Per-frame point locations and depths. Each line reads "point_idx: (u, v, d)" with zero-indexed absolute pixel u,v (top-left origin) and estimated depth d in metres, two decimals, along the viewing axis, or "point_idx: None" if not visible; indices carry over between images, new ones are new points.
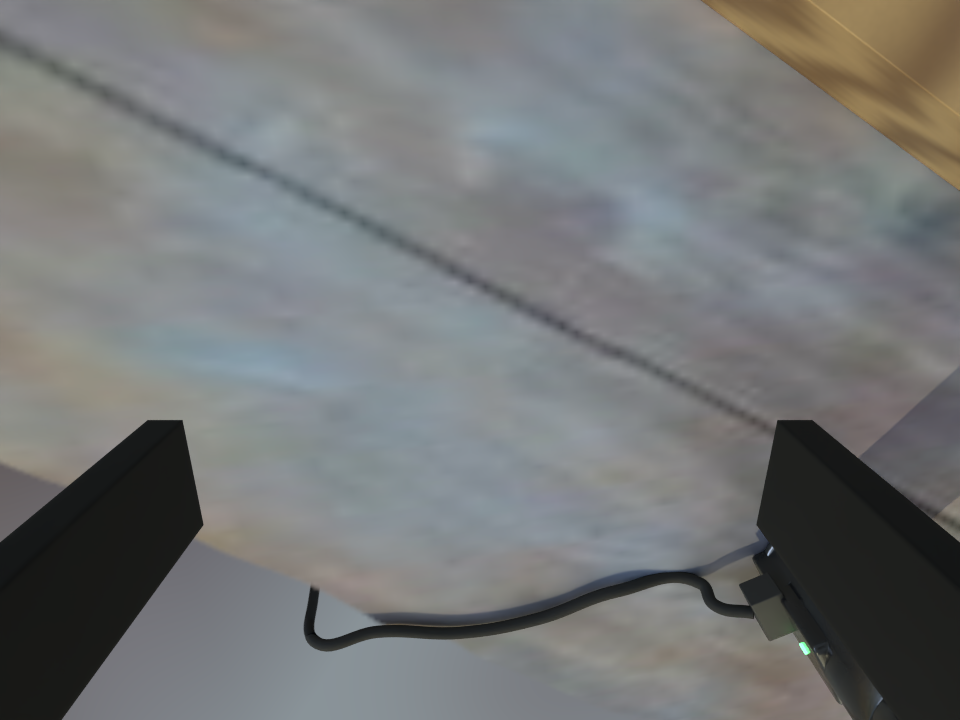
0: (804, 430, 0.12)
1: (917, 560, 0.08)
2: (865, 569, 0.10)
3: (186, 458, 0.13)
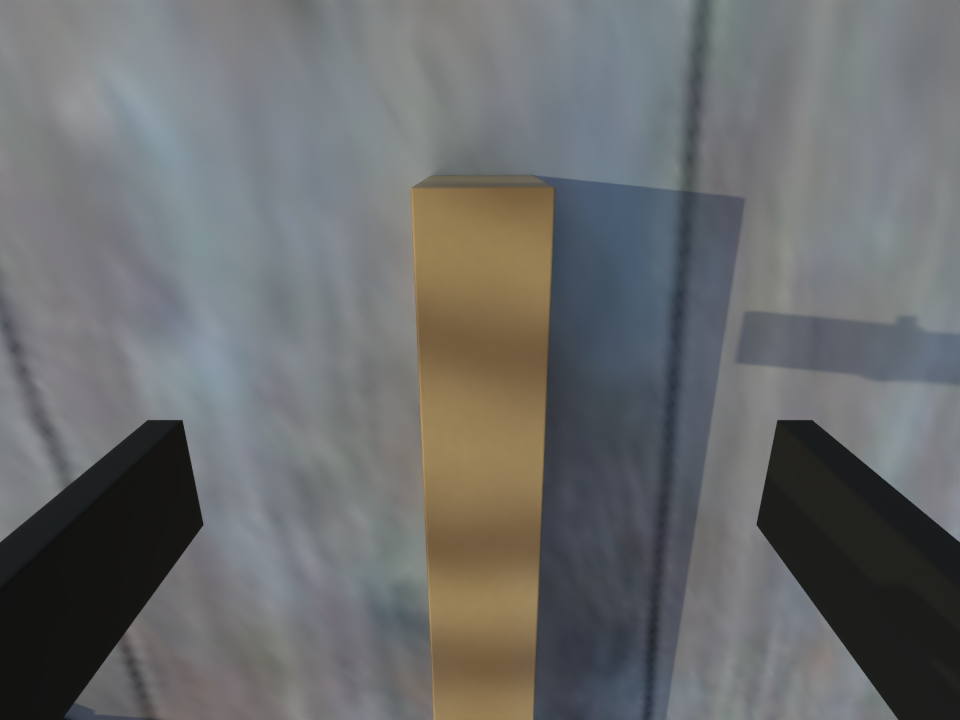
0: (804, 430, 0.12)
1: (916, 560, 0.08)
2: (865, 569, 0.10)
3: (186, 458, 0.13)
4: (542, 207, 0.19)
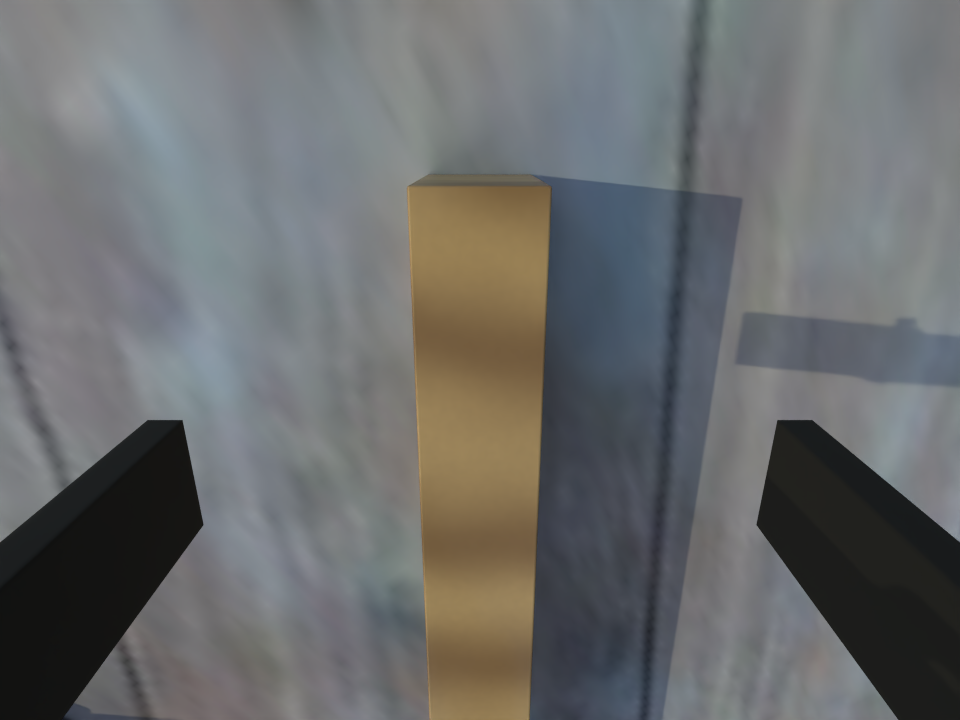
0: (804, 430, 0.12)
1: (917, 560, 0.08)
2: (865, 569, 0.10)
3: (185, 458, 0.13)
4: (538, 206, 0.19)
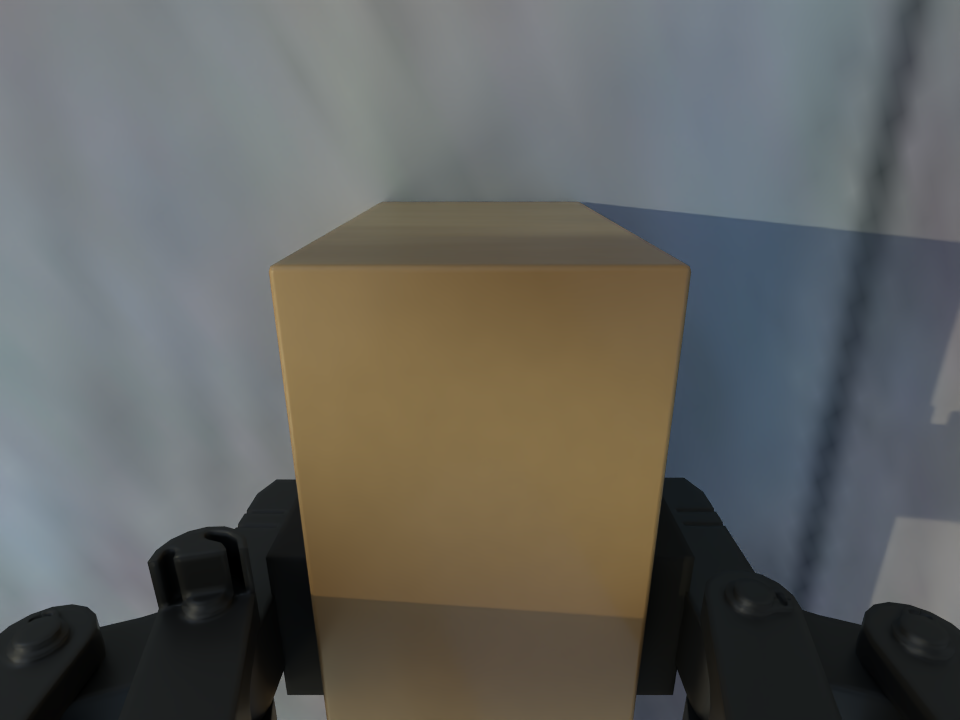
0: None
1: None
2: None
3: None
4: (650, 322, 0.07)
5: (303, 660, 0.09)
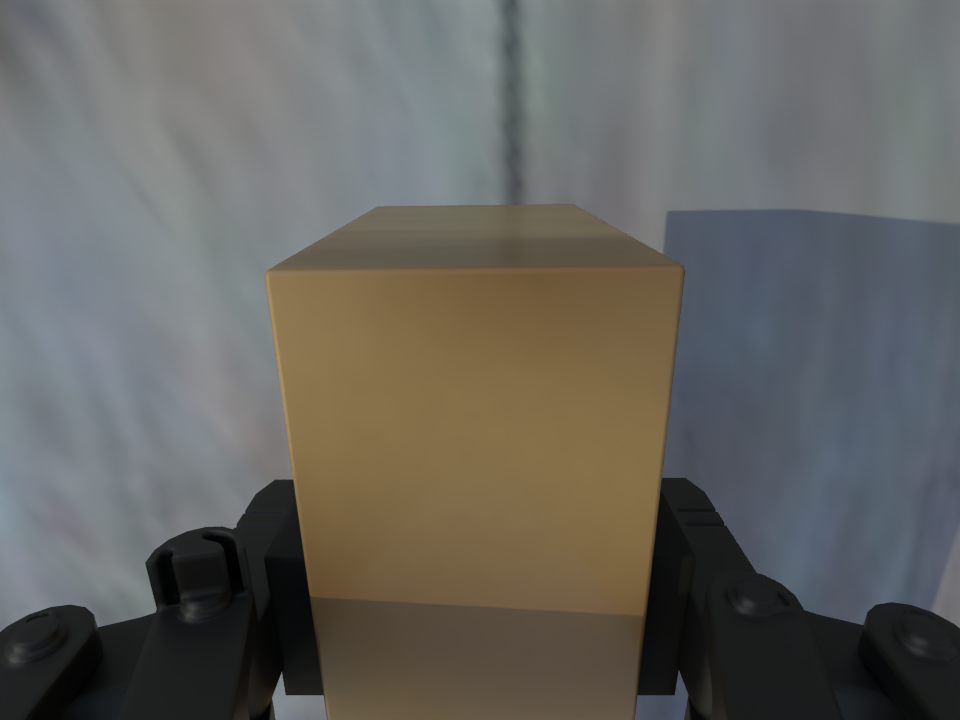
0: None
1: None
2: None
3: None
4: (645, 322, 0.07)
5: (301, 661, 0.09)
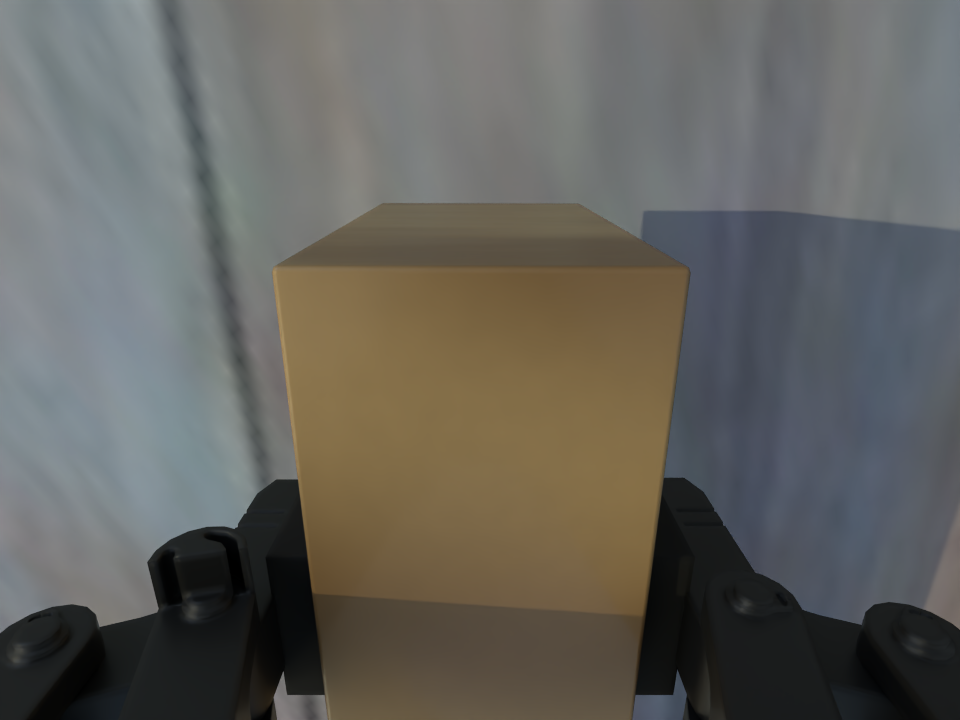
0: None
1: None
2: None
3: None
4: (650, 323, 0.07)
5: (303, 660, 0.09)
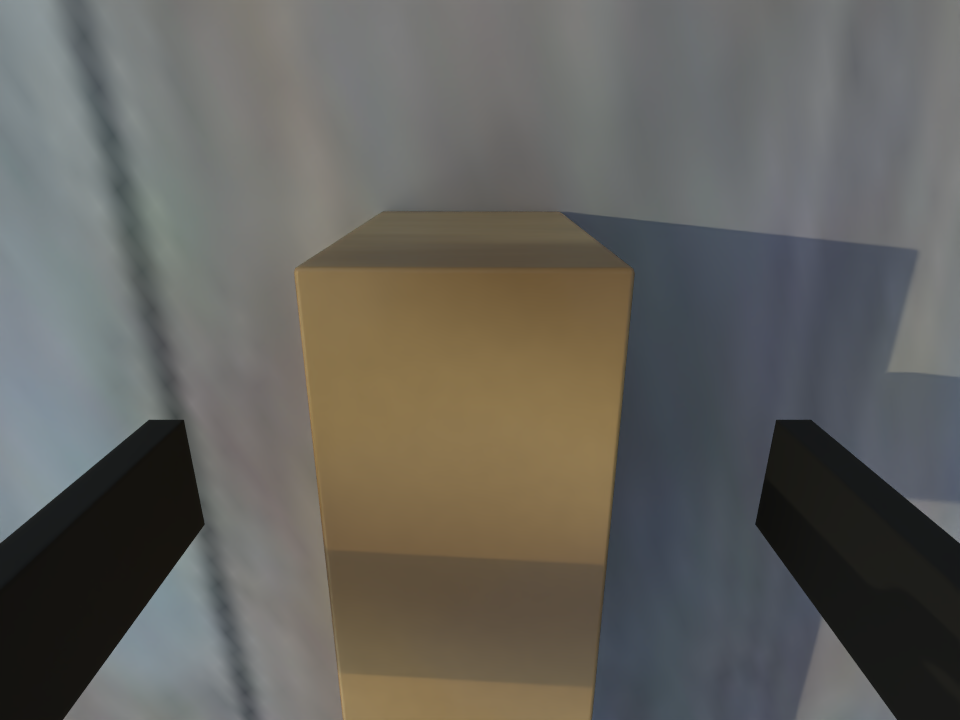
0: (803, 430, 0.12)
1: (915, 559, 0.08)
2: (863, 568, 0.10)
3: (187, 458, 0.13)
4: (602, 314, 0.08)
5: None
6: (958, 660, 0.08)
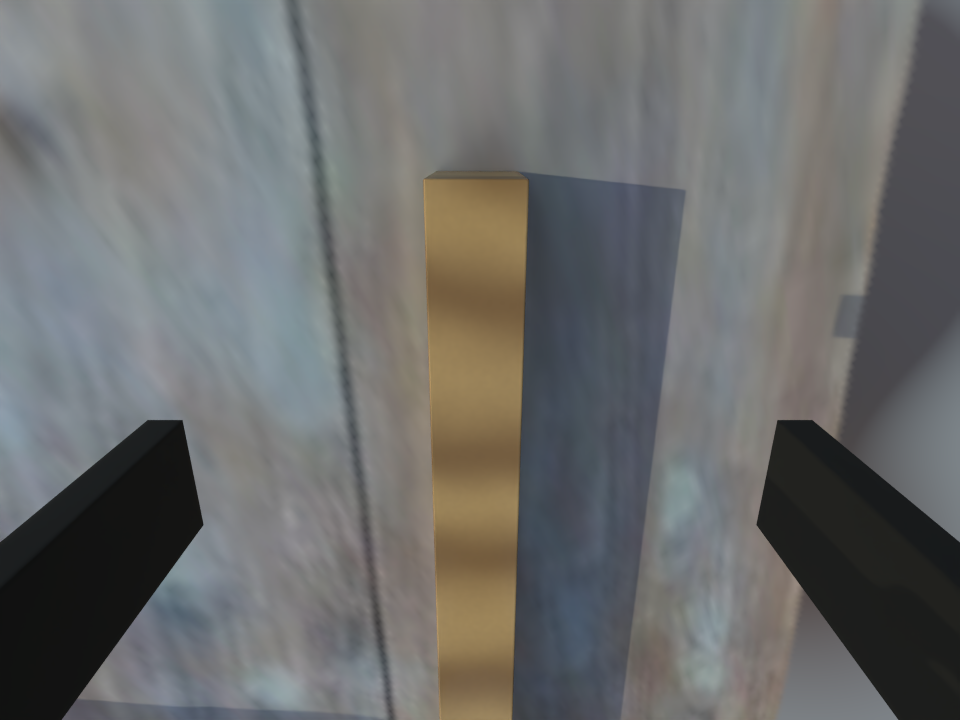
0: (804, 430, 0.12)
1: (917, 560, 0.08)
2: (865, 569, 0.10)
3: (186, 458, 0.13)
4: (519, 194, 0.26)
5: None
6: None
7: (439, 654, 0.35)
